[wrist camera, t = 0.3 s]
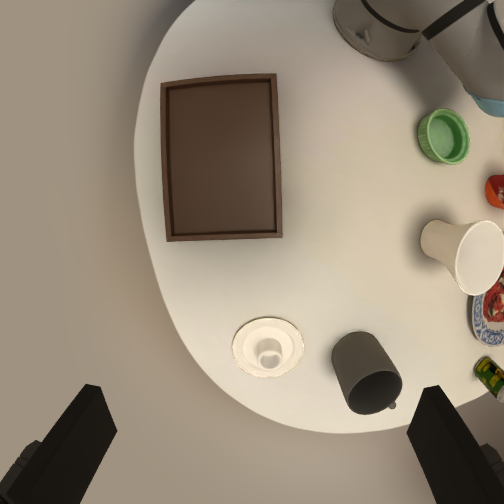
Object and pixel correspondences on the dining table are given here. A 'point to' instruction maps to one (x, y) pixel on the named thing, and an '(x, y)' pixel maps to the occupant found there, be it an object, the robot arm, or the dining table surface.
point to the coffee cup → (495, 191)
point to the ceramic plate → (490, 314)
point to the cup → (467, 252)
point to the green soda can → (491, 377)
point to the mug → (366, 374)
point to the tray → (221, 158)
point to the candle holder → (268, 347)
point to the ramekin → (444, 136)
